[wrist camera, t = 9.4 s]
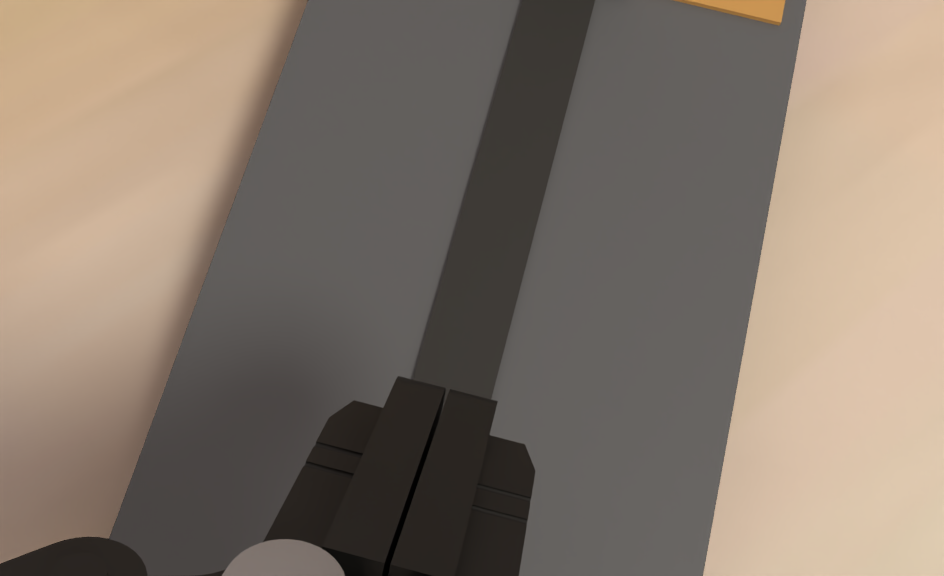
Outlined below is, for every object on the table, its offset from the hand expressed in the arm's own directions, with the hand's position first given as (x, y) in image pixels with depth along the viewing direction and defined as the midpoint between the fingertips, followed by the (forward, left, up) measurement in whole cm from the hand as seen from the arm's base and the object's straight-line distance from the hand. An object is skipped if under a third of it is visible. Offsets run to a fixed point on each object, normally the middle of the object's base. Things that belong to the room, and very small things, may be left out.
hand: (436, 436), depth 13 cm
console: (0, +8, -6) cm, 10 cm away
